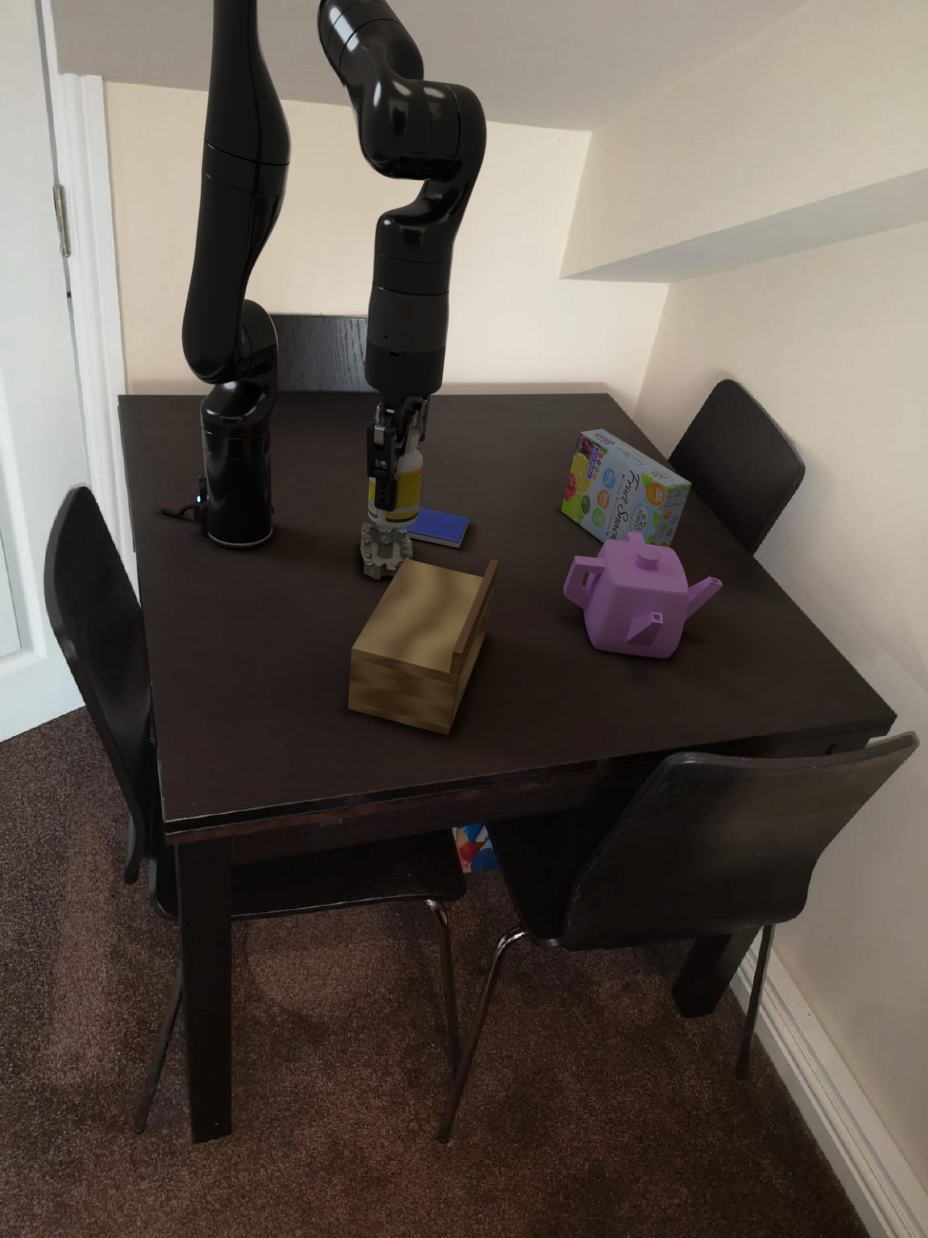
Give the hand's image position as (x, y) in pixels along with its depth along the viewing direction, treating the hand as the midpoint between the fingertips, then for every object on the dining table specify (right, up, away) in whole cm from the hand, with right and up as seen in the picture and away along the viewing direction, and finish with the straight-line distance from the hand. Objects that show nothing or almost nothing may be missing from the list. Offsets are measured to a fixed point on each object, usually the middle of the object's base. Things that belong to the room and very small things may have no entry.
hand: (394, 496), depth 84 cm
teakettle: (+31, -15, +28) cm, 44 cm away
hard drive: (+1, +1, +43) cm, 43 cm away
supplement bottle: (0, -2, +2) cm, 3 cm away
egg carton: (-4, -5, +34) cm, 34 cm away
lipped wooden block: (+2, -19, +15) cm, 24 cm away
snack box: (+32, 0, +49) cm, 58 cm away
